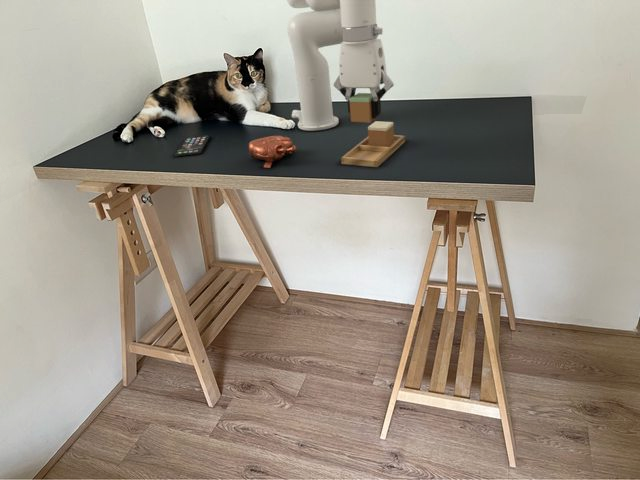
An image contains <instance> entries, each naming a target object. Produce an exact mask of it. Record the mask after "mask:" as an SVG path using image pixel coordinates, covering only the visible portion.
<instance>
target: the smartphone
mask: <svg viewBox="0 0 640 480" xmlns="http://www.w3.org/2000/svg"><path fill="white" fill-rule="evenodd" d="M209 139H210V135H209V134H208V135H196V136H189V137H185V139H183V141H182V143H181V144H180V146H179V147H178V148H177V150H176V151H175V153H174V156H175V157H184V156H192V155H193V156H194V155H195V156H196V155H200V154H202V152H203V150H204V148H205V146H206V145H207V142H209Z"/></svg>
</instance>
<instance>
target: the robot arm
mask: <svg viewBox="0 0 640 480" xmlns="http://www.w3.org/2000/svg"><path fill="white" fill-rule="evenodd" d="M286 1H287V4H288V5H289V6H290V7H291V8H293V9H306V8H310V9H311V11H304V12H300V13H298V14H295V15H293V16H292V17H291V18H290V19H289V20H288V23H287V33H288V34H287V35H288V38H289V43H290V46H291V49H292V54H293V59H294V65H295V72H296V73H295V74H296V80H297V86H298V87H297V88H298V90H297V91H298V98H299V105H300V110H299V109H293V110H292V112H291V118H292V119H298V122H297V128H298V129H300V130H302V131H307V132H317V131H324V130H329V129H332V128H334V127H336V126H337V125H339V124H340V123H339V122H340V121H339V118H338V117H337V116H335V115H334V112H333V110H334V109H333V101H332V100H333V99H332V89H331V77H330V69H329V67H330V66H329V62H328V60H327V59H326V57H325V56H324V55H323V54H322V53H321V51H320V50H319V49H321V48H324V47H330V46H331V47H332V46H336V45H337V46H338V45H340V46H339V48H340V49H339V55H338V56H339V58H338V59H339V61H338V69H339V71H338V73H339V75H338V76H337V77H336V79H335V81H334V83H333V87H334V88H335V89H336V90H337V91H339V93H340V94H341V95H342V96H343V97H344V99H345V101H346V102H347V112H348V113H349V118H350V119H351V115H350V101H349V98H351V97H353V96H354V95H356V91H357V89H369V91H370V92H369V93H371V95H372V98H373V101H372V102H371V110H372V118H373V119H375V118H376V117H377V118H379V117H380V114H381V113H382V103H381V102H382V101H381V99H382V98H383V96H384V95H385V94H387V92H388V91H389V90H391V88H393V87H394V86H395V84H394V82H393V80H392V79H391V78H390V77H389V75H388V74H387V65H386V57H385V51H384V46H383V43H382V39H381V38H378V37H379V36H380V35H383V33H384V31H383V28H382V27H379V26H378V23H377V7H376V4H377V3H376V0H286ZM383 84H384V86H383V87H382V88H381V86H380V85H383ZM378 116H379V117H378ZM377 118H376V119H377ZM376 119H375V120H376Z"/></svg>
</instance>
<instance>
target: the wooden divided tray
mask: <svg viewBox="0 0 640 480" xmlns="http://www.w3.org/2000/svg"><path fill="white" fill-rule="evenodd" d="M404 143H406V135H400V134H399V135H397V134H394V143H393V144H392V145H391V146H390V147H382V146H370V145H369V138H368V136H366V137H365V138H364V139H363V140H361V141H360V142H359V143H358V144H356V145H355V146H354V147H353V148H351V149H350V150H349V151H347V152H346V153H345V154H344V155H342V156H341V157H340V161H341V165H349V166H351V165H352V166H359V167H360V166H361V167H370V168H379V167H380V165H383V163H384V162H385V161H386V160H387V159H388V158H390V156H392V155H393V154H394V153H395V152H396V151H397V150H398V149H399V148H400V147H401V146H402V145H403V144H404Z"/></svg>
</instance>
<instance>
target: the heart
mask: <svg viewBox="0 0 640 480" xmlns="http://www.w3.org/2000/svg"><path fill="white" fill-rule="evenodd" d="M297 150H298V149H297V146H296V145H294V143H293V141H292V139H291V138H290V137H288V136H283V135H270V136H264V137H261V138H257V139H253V140H251V141H250V142H249V143H248V152H249V156H250V158H252V159H254V160H261V161H265V163H264V164H263V168H266V169H267V168H268V169H271V167H272V165H273V163H274V162H277V161H278V160H281V159H282V158H283V157H288V156H289V155H291V154H292V153H297Z"/></svg>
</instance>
